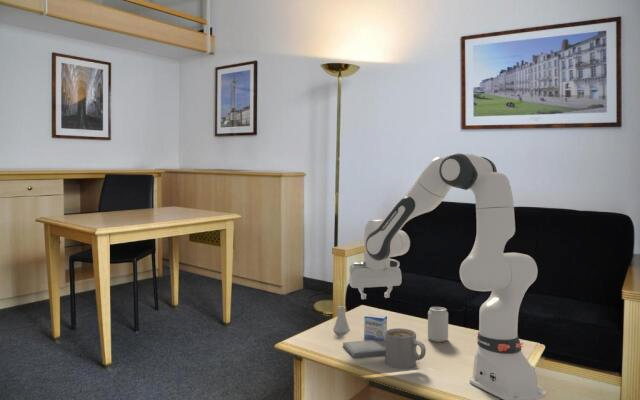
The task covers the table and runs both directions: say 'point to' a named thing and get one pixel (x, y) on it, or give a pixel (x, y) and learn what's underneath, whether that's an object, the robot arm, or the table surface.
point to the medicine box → (375, 327)
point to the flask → (341, 321)
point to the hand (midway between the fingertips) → (375, 298)
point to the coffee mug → (402, 348)
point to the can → (438, 324)
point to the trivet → (364, 348)
